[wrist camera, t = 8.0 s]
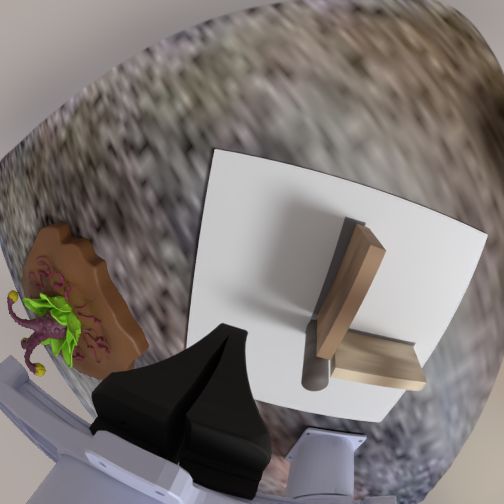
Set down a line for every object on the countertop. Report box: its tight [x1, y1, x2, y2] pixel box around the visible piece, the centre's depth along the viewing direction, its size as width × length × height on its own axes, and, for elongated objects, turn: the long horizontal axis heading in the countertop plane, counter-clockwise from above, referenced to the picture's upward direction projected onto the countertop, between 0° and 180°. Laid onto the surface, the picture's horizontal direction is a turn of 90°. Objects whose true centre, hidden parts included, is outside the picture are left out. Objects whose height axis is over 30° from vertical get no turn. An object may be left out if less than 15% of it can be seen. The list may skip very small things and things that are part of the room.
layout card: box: [186, 149, 488, 422], centre depth 22 cm, size 23×23×1 cm
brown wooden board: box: [316, 224, 386, 360], centre depth 18 cm, size 8×1×5 cm, turn 164°
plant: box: [7, 222, 149, 380], centre depth 24 cm, size 20×20×11 cm
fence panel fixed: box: [301, 320, 427, 391], centre depth 19 cm, size 10×2×6 cm, turn 78°
